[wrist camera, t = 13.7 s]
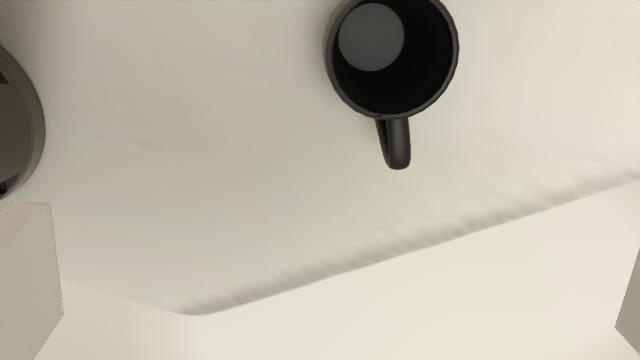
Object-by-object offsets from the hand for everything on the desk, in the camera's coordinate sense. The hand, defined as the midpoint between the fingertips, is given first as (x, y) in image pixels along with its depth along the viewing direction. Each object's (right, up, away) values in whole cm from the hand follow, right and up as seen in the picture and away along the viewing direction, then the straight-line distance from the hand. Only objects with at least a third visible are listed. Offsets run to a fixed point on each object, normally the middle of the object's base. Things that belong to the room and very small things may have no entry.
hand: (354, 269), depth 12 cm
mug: (+3, +11, +30) cm, 32 cm away
